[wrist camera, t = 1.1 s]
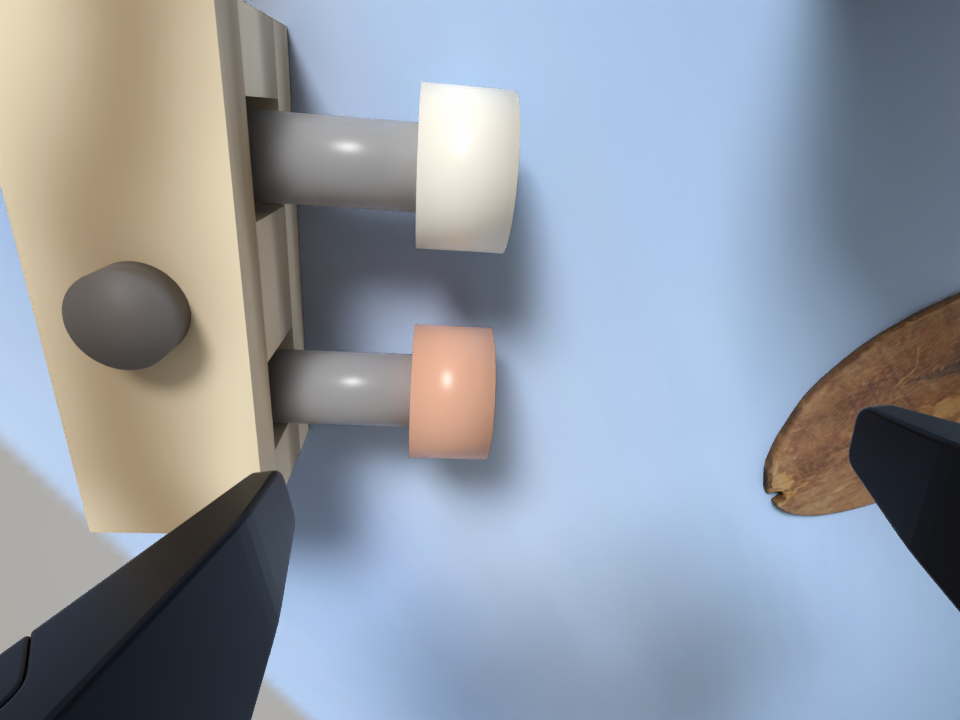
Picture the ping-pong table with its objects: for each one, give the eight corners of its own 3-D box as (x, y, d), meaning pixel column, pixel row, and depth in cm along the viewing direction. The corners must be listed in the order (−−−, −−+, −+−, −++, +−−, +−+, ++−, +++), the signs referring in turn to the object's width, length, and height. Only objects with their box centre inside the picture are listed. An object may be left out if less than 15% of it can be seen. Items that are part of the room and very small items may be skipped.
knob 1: (506, 92, 17) (527, 85, 13) (493, 236, 19) (508, 270, 15) (268, 72, 16) (213, 58, 12) (279, 223, 18) (233, 254, 14)
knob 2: (487, 310, 20) (500, 359, 16) (478, 417, 22) (487, 487, 18) (284, 299, 19) (243, 348, 15) (291, 411, 21) (256, 482, 17)
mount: (286, 26, 17) (191, -29, 10) (308, 430, 22) (256, 558, 16) (110, 9, 16) (-105, -59, 10) (178, 426, 22) (69, 557, 15)
